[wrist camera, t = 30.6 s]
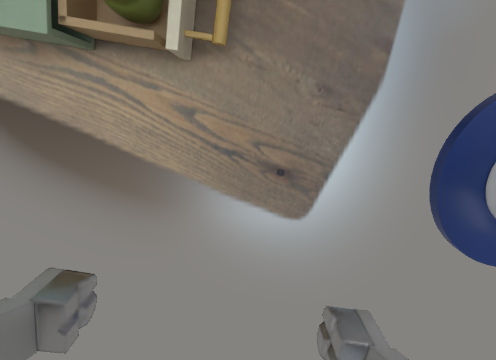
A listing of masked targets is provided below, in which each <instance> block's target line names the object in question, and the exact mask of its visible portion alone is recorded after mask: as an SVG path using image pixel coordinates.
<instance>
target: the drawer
mask: <svg viewBox="0 0 496 360" xmlns="http://www.w3.org/2000/svg"><path fill="white" fill-rule="evenodd" d="M230 7H231V0H217V6H216V15H215V24H214V33H213V34H207V33H202V32H196V31H193V30H194V19H195V9H196V0H163V7H162V10H161V12H160V14H159V15H158V17H157V18H156V19H155V20H153V21H152V22H149V23H144V24H140V23H134V22H131V21H129V20H127V19H125V18H123V17H121V16H120V15H118V14H117V13H116V12H114V11H113V10H112V9H111V8H110V7H109V6H108V5H107V4H106V3H105V2H104V0H58V23H59V24H60V25H63V26H65V27H68V28H70V29H72V30H75V31H77V32H79V33H82V34H84V35H87V36H89V37H92V38H95V39H100V40H106V41H112V42H118V43H124V44H130V45H136V46H142V47H147V48H153V49H159V50H165V51H170V52H172V53H173V54H175V55H176V56H177V57H179V58H180V59H184V60H191V51H192V40H193V38H194V39H200V40H206V41H212V43H213V44H215V45H219V46H226V39H227V31H228V23H229V15H230Z"/></svg>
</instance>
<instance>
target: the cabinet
mask: <svg viewBox="0 0 496 360" xmlns="http://www.w3.org/2000/svg"><path fill="white" fill-rule="evenodd" d="M0 35H5V36H11V37H17V38H23V39H29V40H35V41H41V42H47V43H53V44H59V45H65V46H71V47H77V48H83V49H89V50H94V46H95V38H92V37H89V36H87V35H84V34H82V33H79V32H77V31H75V30H72V29H70V28H68V27H65V26H63V25H60V24H59V23H58V0H0Z"/></svg>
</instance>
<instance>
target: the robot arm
mask: <svg viewBox="0 0 496 360" xmlns="http://www.w3.org/2000/svg"><path fill="white" fill-rule="evenodd" d="M486 202H487V206H488V208H489V210H490V212H491V214H492V215H493V216H494V217H495V218H496V162H495V164H494V166H493V167H492V169H491V171H490V174H489V176H488V180H487V184H486ZM96 285H97V276H96V275H95V274H89V273H84V272H78V271H71V270H64V269H57V268H48V269H46V270H45V271H44V272H43V273H42V274H40V275H39V276H38V277H37V278H35V279H34V280H33V281H32V282H31V283H29V284H28V285H27V286H26V287H24V288H23V289H22V290H21V291H20V292H18V293H17V294H16V295H15V296H14V297H12V298H4V299H2V300H0V360H26V359H28V358H29V357H31V356H32V355H34V354H35V353H36V352H37V351H43V352H54V353H64V354H65V353H66V352H67V351H68V350H69V348H70V347H71V346H72V344H73V343H74V341H75V340H76V339H77V337H78V336H79V329H80V328H82V327H84V326H85V325H87V324H88V322H89V321H90V319H91V318H92V315H93V313H94V311H95V307H96V303H97V295H96V294H95V292H94V291H93V289H94V288H95V287H96ZM322 316H323V319H324V322H323V323H322V324H320V325H319V329H318V333H317V345H318V350H319V354H320V356H321V357H322V358H323V359H324V360H409V359H407V358H406V357H405V356H404V355H402V354H401V353H399V352H398V351H397V350H396V349H392V348H390V346H389V344H388V343H387V341H386V340H385V337H384V336H383V334H382V332H381V331H380V329H379V327H378V325H377V324H376V322H375V320H374V319H373V317H372V315H371V313H370V312H369V311H367V310H358V309H346V308H339V307H330V306H326V307H325V308H324V311H323V314H322Z"/></svg>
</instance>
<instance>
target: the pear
mask: <svg viewBox="0 0 496 360" xmlns="http://www.w3.org/2000/svg"><path fill="white" fill-rule="evenodd" d="M104 2H105V3H106V4H107V5H108V6H109V7H110V8H111V9H112V10H113V11H114V12H116V13H117V14H118V15H120V16H121V17H123V18H125V19H127V20H129V21H131V22H134V23H140V24H144V23H149V22H152V21H153V20H155V19H156V18H157V17H158V15H159V14H160V12H161V10H162V7H163V0H104Z"/></svg>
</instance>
